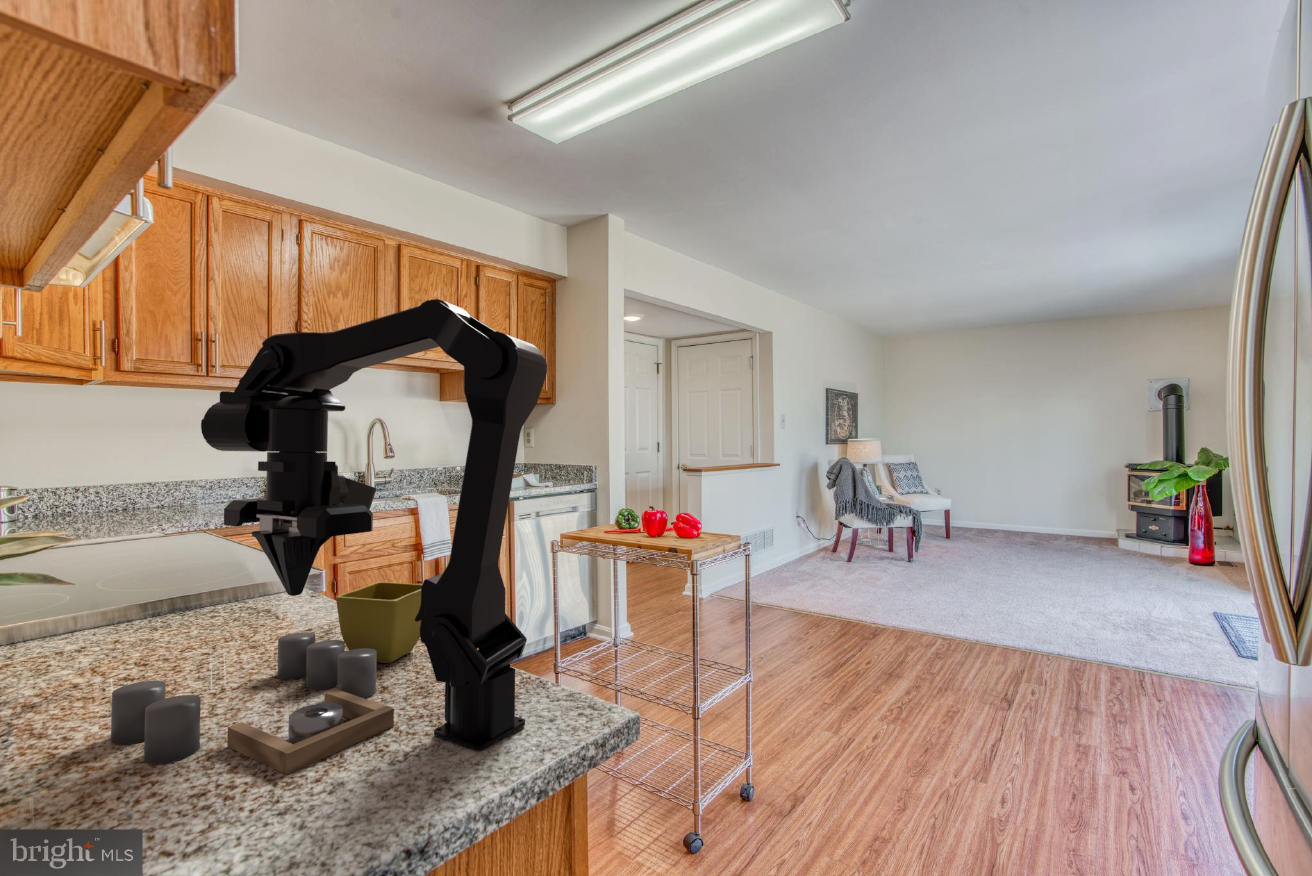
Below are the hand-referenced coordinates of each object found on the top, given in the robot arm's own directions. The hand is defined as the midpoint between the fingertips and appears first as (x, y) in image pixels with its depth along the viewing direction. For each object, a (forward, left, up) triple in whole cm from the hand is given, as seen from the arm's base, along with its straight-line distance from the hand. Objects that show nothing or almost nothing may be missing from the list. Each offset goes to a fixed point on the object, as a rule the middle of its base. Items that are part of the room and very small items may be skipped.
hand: (294, 594), depth 66 cm
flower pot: (+5, -15, -12) cm, 20 cm away
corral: (-9, +3, -12) cm, 15 cm away
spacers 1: (+2, +11, -12) cm, 17 cm away
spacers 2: (+3, -6, -12) cm, 14 cm away
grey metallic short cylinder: (-9, +3, -12) cm, 15 cm away
